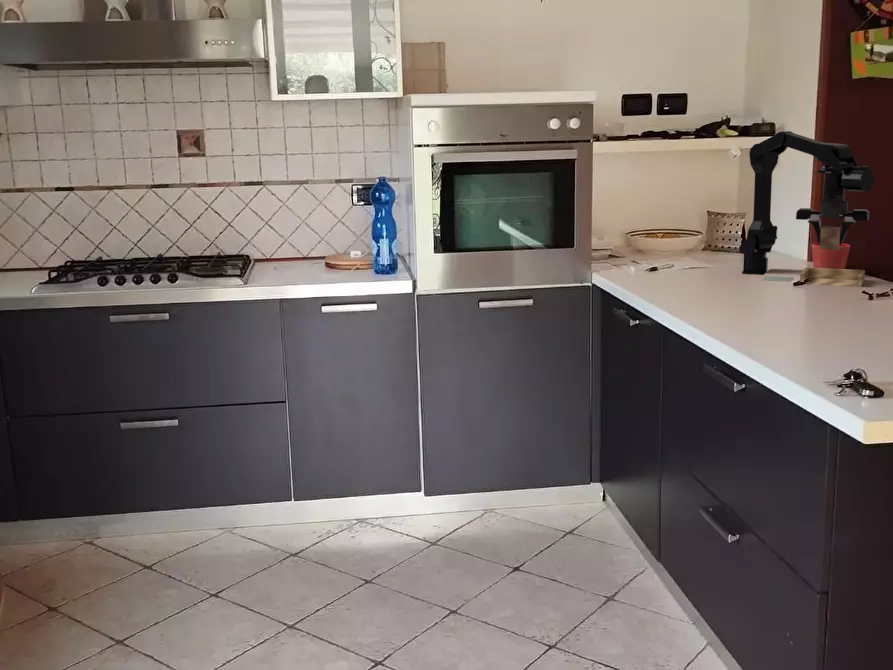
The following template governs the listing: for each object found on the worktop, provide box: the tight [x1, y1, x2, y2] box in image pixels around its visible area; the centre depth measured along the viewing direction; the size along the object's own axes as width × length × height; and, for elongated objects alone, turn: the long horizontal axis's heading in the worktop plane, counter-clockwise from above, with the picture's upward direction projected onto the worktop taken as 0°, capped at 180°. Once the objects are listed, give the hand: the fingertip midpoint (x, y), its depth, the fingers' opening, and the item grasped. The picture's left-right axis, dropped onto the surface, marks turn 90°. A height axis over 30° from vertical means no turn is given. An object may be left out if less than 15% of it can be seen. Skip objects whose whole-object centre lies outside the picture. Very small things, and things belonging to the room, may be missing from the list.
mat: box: [761, 275, 795, 283], centre depth 268 cm, size 8×8×1 cm
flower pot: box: [811, 242, 851, 269], centre depth 272 cm, size 11×11×10 cm
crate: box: [799, 267, 866, 288], centre depth 260 cm, size 16×12×4 cm
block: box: [820, 225, 843, 250], centre depth 258 cm, size 5×5×6 cm
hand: (830, 244), depth 258 cm, fingers closed on block, 5 cm apart
